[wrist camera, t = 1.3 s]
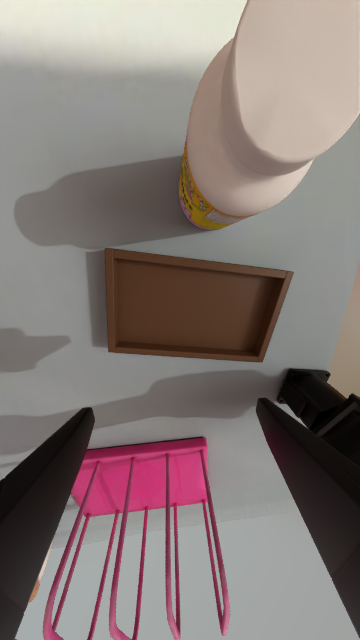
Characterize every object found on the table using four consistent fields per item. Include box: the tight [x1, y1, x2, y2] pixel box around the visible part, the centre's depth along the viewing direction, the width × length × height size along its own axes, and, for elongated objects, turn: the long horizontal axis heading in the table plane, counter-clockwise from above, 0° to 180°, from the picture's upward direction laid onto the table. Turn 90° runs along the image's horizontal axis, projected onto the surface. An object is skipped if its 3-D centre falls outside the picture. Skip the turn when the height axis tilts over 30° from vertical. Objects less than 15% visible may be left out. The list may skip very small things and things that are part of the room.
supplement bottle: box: [179, 0, 360, 230], centre depth 11 cm, size 7×7×13 cm
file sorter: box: [14, 438, 230, 640], centre depth 26 cm, size 17×25×16 cm
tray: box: [105, 248, 294, 362], centre depth 20 cm, size 20×12×2 cm, turn 83°
